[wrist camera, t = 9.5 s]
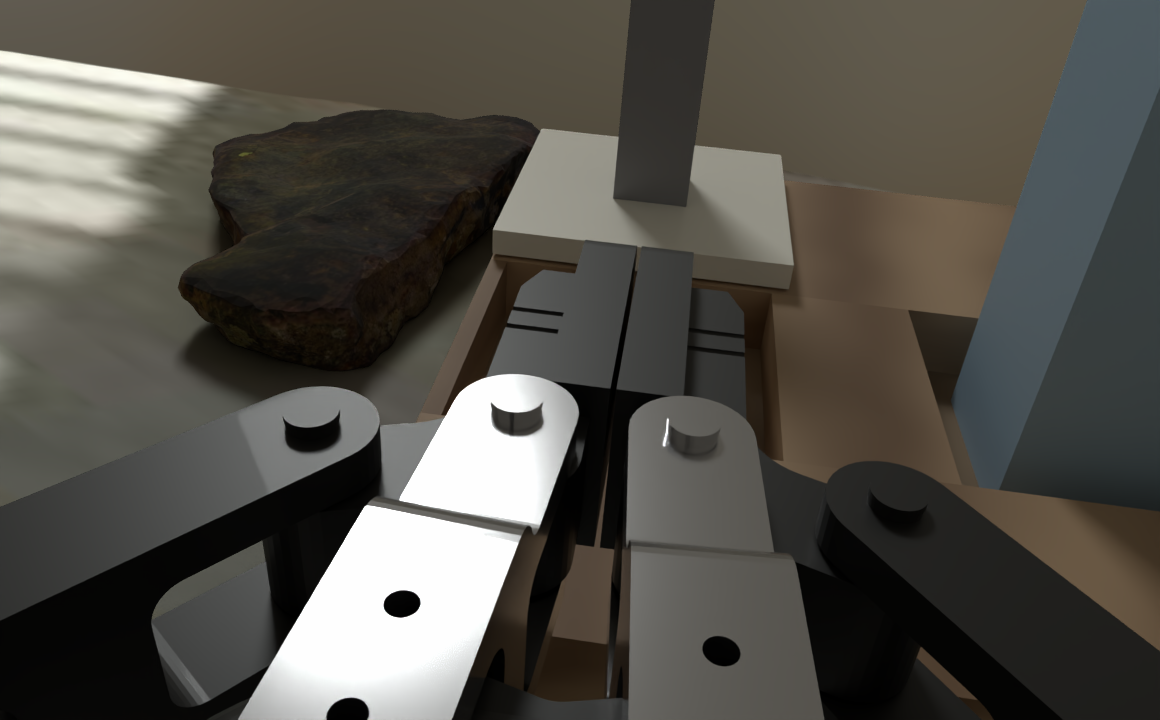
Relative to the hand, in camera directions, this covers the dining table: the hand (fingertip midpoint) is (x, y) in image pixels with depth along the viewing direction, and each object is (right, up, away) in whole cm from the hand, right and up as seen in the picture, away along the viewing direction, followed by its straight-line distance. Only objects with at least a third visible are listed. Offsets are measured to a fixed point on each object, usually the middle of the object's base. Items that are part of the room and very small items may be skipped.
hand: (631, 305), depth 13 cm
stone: (-10, +3, +22) cm, 25 cm away
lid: (+2, +4, +19) cm, 20 cm away
